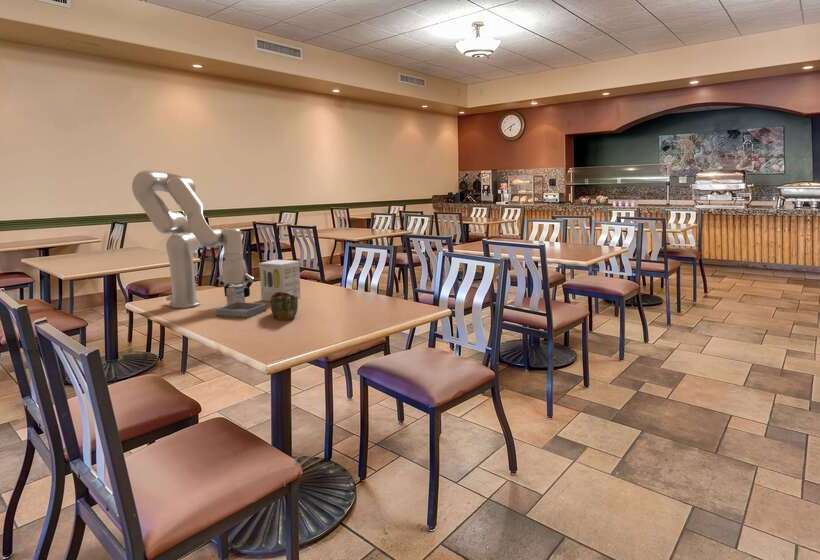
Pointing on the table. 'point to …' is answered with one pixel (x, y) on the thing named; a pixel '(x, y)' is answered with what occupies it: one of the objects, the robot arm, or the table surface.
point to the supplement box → (279, 278)
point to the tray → (241, 310)
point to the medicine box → (235, 294)
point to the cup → (284, 305)
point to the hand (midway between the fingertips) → (237, 296)
